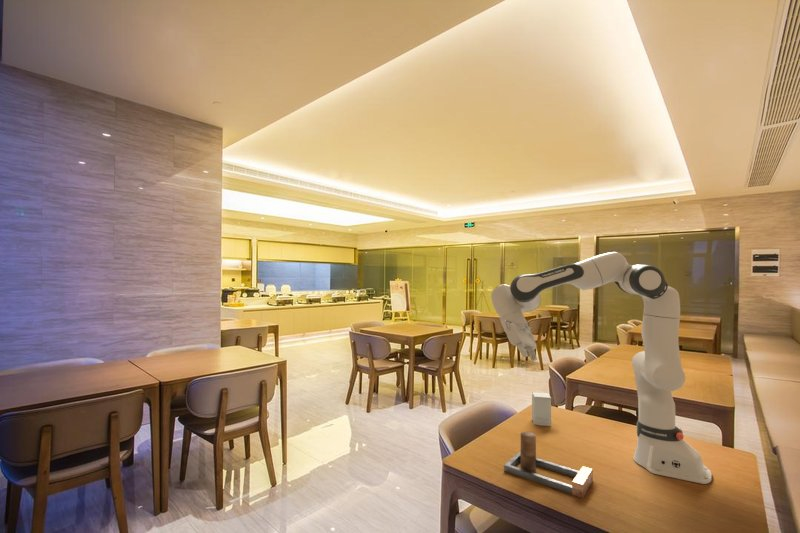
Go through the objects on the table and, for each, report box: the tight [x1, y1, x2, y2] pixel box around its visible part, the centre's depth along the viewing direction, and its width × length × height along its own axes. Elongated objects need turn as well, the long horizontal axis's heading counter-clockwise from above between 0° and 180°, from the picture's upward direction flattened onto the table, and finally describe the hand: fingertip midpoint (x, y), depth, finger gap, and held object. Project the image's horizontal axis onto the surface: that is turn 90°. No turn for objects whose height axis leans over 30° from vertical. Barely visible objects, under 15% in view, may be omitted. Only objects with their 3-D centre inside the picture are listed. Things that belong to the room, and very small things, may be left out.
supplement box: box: [531, 392, 552, 427], centre depth 176 cm, size 7×7×13 cm
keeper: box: [520, 431, 537, 473], centre depth 133 cm, size 5×5×12 cm
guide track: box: [503, 452, 594, 499], centre depth 129 cm, size 25×12×4 cm, turn 51°
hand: (530, 358), depth 139 cm, fingers open, 8 cm apart
